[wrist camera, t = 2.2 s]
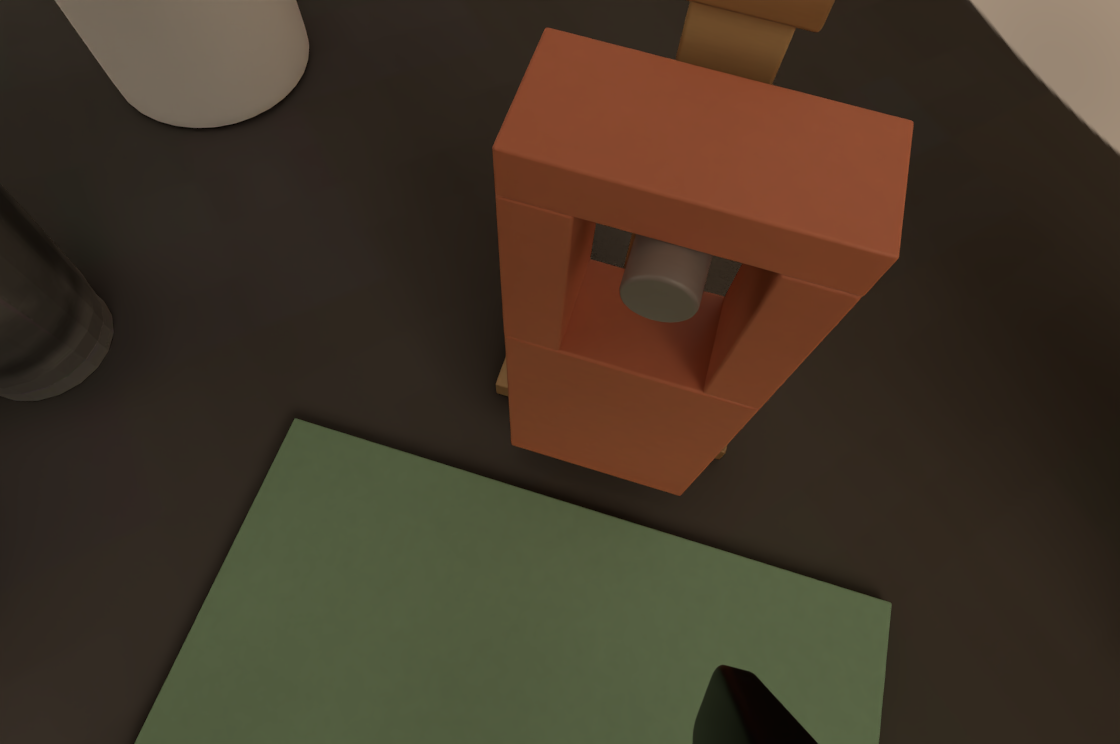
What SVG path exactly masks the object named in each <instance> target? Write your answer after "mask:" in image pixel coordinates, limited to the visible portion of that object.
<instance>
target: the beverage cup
mask: <svg viewBox="0 0 1120 744" xmlns="http://www.w3.org/2000/svg"><path fill="white" fill-rule="evenodd" d="M113 334H114V329H113V319H112V314H111V313H110V311H109V309H108V307H107V306H106V304H105V302H104V301H103V300H102V299H101V298H100V297H99V296H97V295H96V294H95V292H94V290H93V289H92V288H91V286H90V285H89V284H88V283H87V281H86V279H85V277H84V276H83V274H82V273H81V272H80V271H79V270H78V269H77V268H76V266H75V265H74V264H73V263H72V262H71V261H70V260H69V259H68V258H67V256H66V255H65V254H64V253H63V252H62V251H61V250H60V249H59V248H58V247H57V245H56V244H55V243H54V242H53V241H52V240H51V239H50V238H49V237H48V235H47V234H46V233H45V232H44V231H43V230H42V229H41V228H40V227H39V225H38V224H37V223H36V222H35V221H34V220H33V219H32V218H31V217H30V216H29V214H28V213H27V212H26V211H25V210H24V209H23V208H22V207H21V206H20V204H19V203H18V202H17V201H16V200H15V199H14V198H13V197H12V196H11V194H10V193H9V192H8V191H7V190H6V189H5V188H4V187H3V186H2V185H1V183H0V396H2V397H5V398H8V399H11V400H14V401H39V400H42V399H46V398H50V397H53V396H57V395H60V394H62V393H64V392H66V391H68V390H70V389H71V388H73V387H75V386H77V385H79V384H80V383H82V382H83V381H84V380H85V379H86V378H87V377H88V376H89V375H90V374H92V373H93V372H94V371H95V370H96V369H97V368H98V367H99V365H100V363H101V362H102V360H103V359H104V357H105V356H106V354H107V353H108V351H109V348H110V345H111V341H112V337H113Z"/></svg>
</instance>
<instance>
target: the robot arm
mask: <svg viewBox="0 0 1120 744" xmlns="http://www.w3.org/2000/svg"><path fill="white" fill-rule="evenodd" d="M693 744H818V743H817V742H816V741H815V739H814V738H813V737H812V736H811V735H810V734H809V733H808V732H807V731H806V730H805V729H804V727H803V726H802V725H801V724H800V723H799V722H798V721H797V720H796V719H795V718H794V717H793V715H792V714H791V713H790V712H789V711H788V710H787V709H786V708H785V707H784V706H783V704H782V703H781V702H780V701H779V700H778V699H777V698H776V697H775V696H774V695H773V694H772V692H771V691H770V690H769V689H768V688H767V687H766V686H765V685H764V684H763V683H762V682H761V680H760V679H759V678H758V677H757V676H756V675H755V674H754V673H752V672H750V671H747V670H743V669H739V668H735V667H731V666H727V665H720V666H718V667H717V668H716V669H715V671H714V672H713V674H712V676H711V679H710V682H709V684H708V687H707V690H706V692H705V695H704V698H703V700H702V703H701V706H700V708H699V711H698V714H697V717H696V720H695V724H694V729H693Z"/></svg>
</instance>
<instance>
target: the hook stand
mask: <svg viewBox="0 0 1120 744" xmlns="http://www.w3.org/2000/svg"><path fill="white" fill-rule="evenodd" d="M687 1H690V2H689V6H688V10H687V14H686V18H685V23H684V27H683V31H682V35H681V39H680V43H679V47H678V51H677V55H676V59H675V60H677V61H681V62H685V63H689V64H693V65H696V66H700V67H704V68H708V69H712V70H716V71H720V72H724V73H728V74H732V75H736V76H739V77H743V78H747V79H751V80H755V81H759V82H763V83H767V84H771V85H772V83H773V81H774V79H775V76H776V74H777V72H778V69H779V67H780V64H781V62H782V60H783V57H784V55H785V53H786V50H787V48H788V46H789V43H790V41H791V39H792V36H793V34H794V32H795V29H796V28H800V29H804V30H808V31H812V32H819V31H820V30H821V29H822V27H823V25H824V23H825V21H826V19H827V17H828V15H829V12H830V10H831V8H832V6H833V4H834V2H835V0H687ZM711 258H712V255H710V254H707V253H703V252H700V251H696V250H692V249H689V248H685V247H682V246H678V245H674V244H671V243H667V242H663V241H660V240H656V239H653V238H649V237H645V236H642V235H638V234H635V233H632V236H631V240H630V244H629V248H628V252H627V256H626V260H625V264H624V269H625V271H624V274H623V277H622V281H621V284H620V288H619V292H620V297H621V300H622V301H623V303H624V304H625V305H626V306H627V307H628V308H629V309H630V310H632V311H633V312H635V313H636V314H638V315H640V316H642V317H645V318H648V319H651V320H655V321H659V322H669V323H672V322H681V321H685V320H688V319H690V318H691V317H693V316H694V315H695V314H696V313H697V311H698V310H699V307H700V303H701V299H702V295H703V291H704V287H705V283H706V279H707V275H708V271H709V267H710V263H711ZM496 392H497V393H498V394H502V395H505V396H508V382H507V365H506V357H505V360H504V363H503V365H502V368H501V371H500V373H499V376H498V379H497V382H496ZM726 449H727V445H726V446H725V447H724V449H723V450H722V451H721V452H720V453H719V454H718V455H717V456H716V457H715V459H720V458H721V457H722V456H723V455H724V454H725V453H726Z"/></svg>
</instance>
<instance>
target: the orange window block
mask: <svg viewBox="0 0 1120 744" xmlns="http://www.w3.org/2000/svg"><path fill="white" fill-rule="evenodd" d="M913 124H914V123H913V121H911V120H907V119H903V118H900V117H896V116H892V115H888V114H884V113H880V112H876V111H872V110H868V109H864V108H860V107H857V106H853V105H849V104H845V103H841V102H837V101H833V100H829V99H825V98H821V97H818V96H814V95H810V94H806V93H802V92H798V91H794V90H790V89H786V88H782V87H778V86H775V85H771V84H767V83H763V82H759V81H755V80H751V79H747V78H743V77H739V76H736V75H732V74H728V73H724V72H720V71H716V70H712V69H708V68H704V67H700V66H696V65H693V64H689V63H685V62H681V61H677V60H673V59H669V58H665V57H661V56H657V55H654V54H650V53H646V52H642V51H638V50H634V49H630V48H626V47H622V46H618V45H614V44H611V43H607V42H603V41H599V40H595V39H591V38H587V37H583V36H579V35H575V34H572V33H568V32H564V31H560V30H556V29H552V28H545V30H544V32H543V34H542V36H541V39H540V41H539V43H538V45H537V48H536V50H535V52H534V54H533V57H532V59H531V61H530V63H529V66H528V68H527V70H526V72H525V75H524V77H523V79H522V81H521V84H520V86H519V88H518V91H517V93H516V95H515V97H514V100H513V102H512V104H511V106H510V109H509V111H508V113H507V115H506V118H505V120H504V122H503V124H502V127H501V129H500V131H499V133H498V136H497V138H496V140H495V143H494V145H493V147H492V149H493V165H494V181H495V194H496V212H497V228H498V244H499V260H500V276H501V292H502V308H503V324H504V335H505V349H506V365H507V382H508V398H509V414H510V431H511V444H512V445H514V446H517V447H520V448H524V449H527V450H530V451H534V452H537V453H540V454H543V455H547V456H550V457H553V458H556V459H560V460H563V461H566V462H570V463H573V464H576V465H579V466H583V467H586V468H589V469H593V470H596V471H599V472H602V473H606V474H609V475H612V476H615V477H619V478H622V479H625V480H629V481H632V482H635V483H638V484H642V485H645V486H648V487H652V488H655V489H658V490H661V491H665V492H668V493H671V494H675V495H678V496H681V495H682V493H683V492H684V491H685V490H686V489H687V488H688V487H689V486H690V485H691V484H692V482H693V481H694V480H695V479H696V478H697V477H698V476H699V475H700V474H701V473H702V472H703V470H704V469H705V468H706V467H707V466H708V465H709V464H710V463H711V462H712V461H713V459H714V458H715V457H716V456H717V455H718V454H719V453H720V452H721V451H722V450H723V449H724V447H725V446H726V445H727V444H728V443H729V442H730V441H731V440H732V439H733V438H734V437H735V435H736V434H737V433H738V432H739V431H740V430H741V429H742V428H743V427H744V426H745V424H746V423H747V422H748V421H749V420H750V419H751V418H752V417H753V416H754V415H755V414H756V412H757V411H758V410H759V408H761V407H762V406H763V405H764V404H765V403H766V402H767V400H768V399H769V398H770V397H771V396H772V395H773V394H774V393H775V392H776V391H777V390H778V388H779V387H780V386H781V385H782V384H783V383H784V382H785V381H786V380H787V379H788V377H789V376H790V375H791V374H792V373H793V372H794V371H795V370H796V369H797V368H798V367H799V365H800V364H801V363H802V362H803V361H804V360H805V359H806V358H807V357H808V356H809V355H810V353H811V352H812V351H813V350H814V349H815V348H816V347H817V346H818V345H819V344H820V342H821V341H822V340H823V339H824V338H825V337H826V336H827V335H828V334H829V333H830V332H831V330H832V329H833V328H834V327H835V326H836V325H837V324H838V323H839V322H840V321H841V320H842V318H843V317H844V316H845V315H846V314H847V313H848V312H849V311H850V310H851V309H852V307H853V306H854V305H855V304H856V303H857V302H858V301H859V300H860V298H861V297H862V296H864V295H865V294H866V293H867V292H868V291H869V290H870V289H871V288H872V287H873V286H874V284H875V283H876V282H877V281H878V280H879V279H880V278H881V277H882V276H883V275H884V274H885V272H886V271H887V270H888V269H889V268H890V267H891V266H892V265H893V264H894V263H895V262H896V260H897V259H898V258H899V251H900V242H901V233H902V224H903V215H904V206H905V197H906V187H907V178H908V169H909V160H910V151H911V142H912V133H913ZM596 223H598V224H602V225H606V226H609V227H613V228H617V229H620V230H624V231H627V232H631V233H635V234H638V235H642V236H645V237H649V238H653V239H656V240H660V241H663V242H667V243H671V244H674V245H678V246H682V247H685V248H689V249H692V250H696V251H700V252H703V253H707V254H710V255H714V256H718V257H721V258H725V259H729V260H732V261H736V262H739V263H743V264H742V265H741V267H740V269H739V271H738V273H737V275H736V277H735V278H734V280H733V282H732V284H731V286H730V288H729V289H728V291H727V293H726V295H725V297H723V296H720V295H716V294H712V293H709V292H705V291H703V295H702V299H701V303H700V307H699V310H698V311H697V313H696V314H695V315H694V316H693V317H691V318H690V319H688V320H685V321H681V322H672V323H669V322H659V321H655V320H651V319H648V318H645V317H642V316H640V315H638V314H636V313H635V312H633V311H632V310H630V309H629V308H628V307H627V306H626V305H625V304H624V303H623V301H622V300H621V297H620V292H619V288H620V284H621V281H622V277H623V274H624V271H625V269H624V268H620V267H616V266H613V265H609V264H606V263H602V262H599V261H595V260H592V259H590V257H591V250H592V244H593V238H594V232H595V225H596Z"/></svg>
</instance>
